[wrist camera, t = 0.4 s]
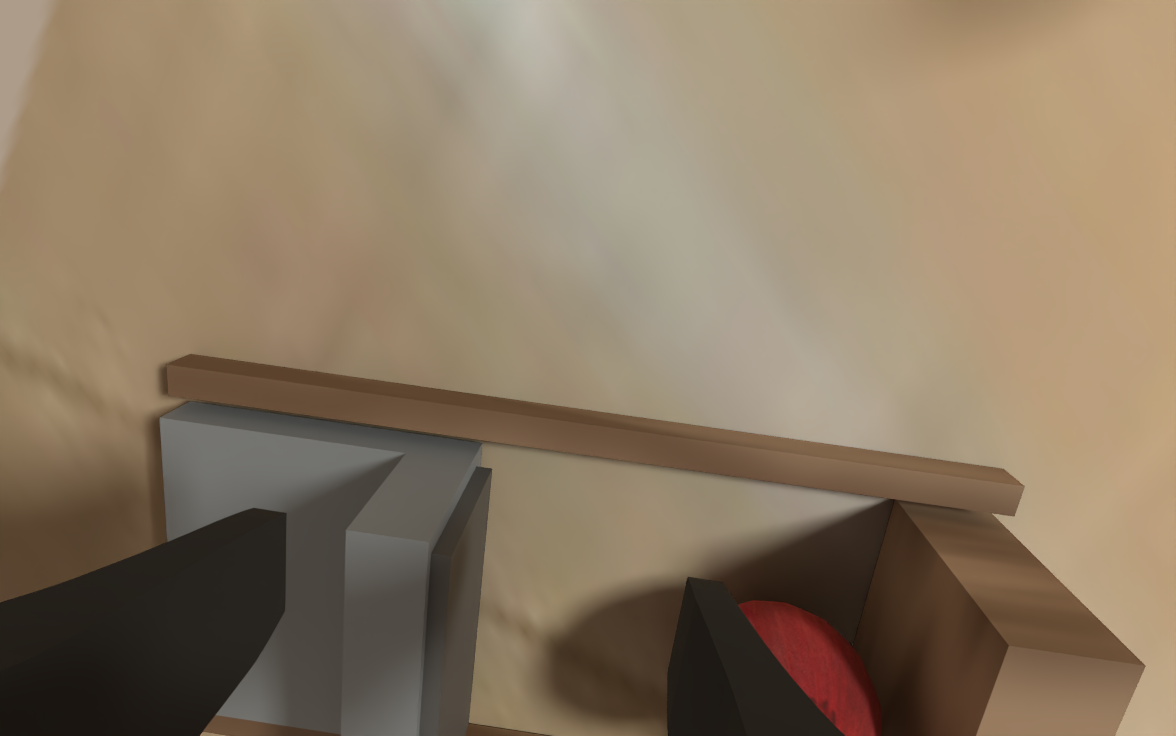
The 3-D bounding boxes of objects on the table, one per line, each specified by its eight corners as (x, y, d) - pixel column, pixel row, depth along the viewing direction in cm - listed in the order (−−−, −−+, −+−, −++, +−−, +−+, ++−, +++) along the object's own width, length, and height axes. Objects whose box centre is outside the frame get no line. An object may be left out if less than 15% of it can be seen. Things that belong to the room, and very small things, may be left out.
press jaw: (471, 719, 25) (407, 940, 18) (203, 678, 26) (34, 880, 18) (497, 445, 22) (431, 582, 15) (189, 401, 22) (-21, 515, 15)
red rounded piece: (633, 627, 24) (632, 844, 16) (751, 519, 23) (811, 703, 15) (753, 722, 25) (805, 971, 17) (874, 624, 23) (991, 849, 16)
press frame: (890, 810, 26) (980, 1040, 19) (207, 704, 26) (60, 890, 20) (1003, 468, 21) (1170, 608, 15) (190, 354, 22) (-3, 437, 15)
